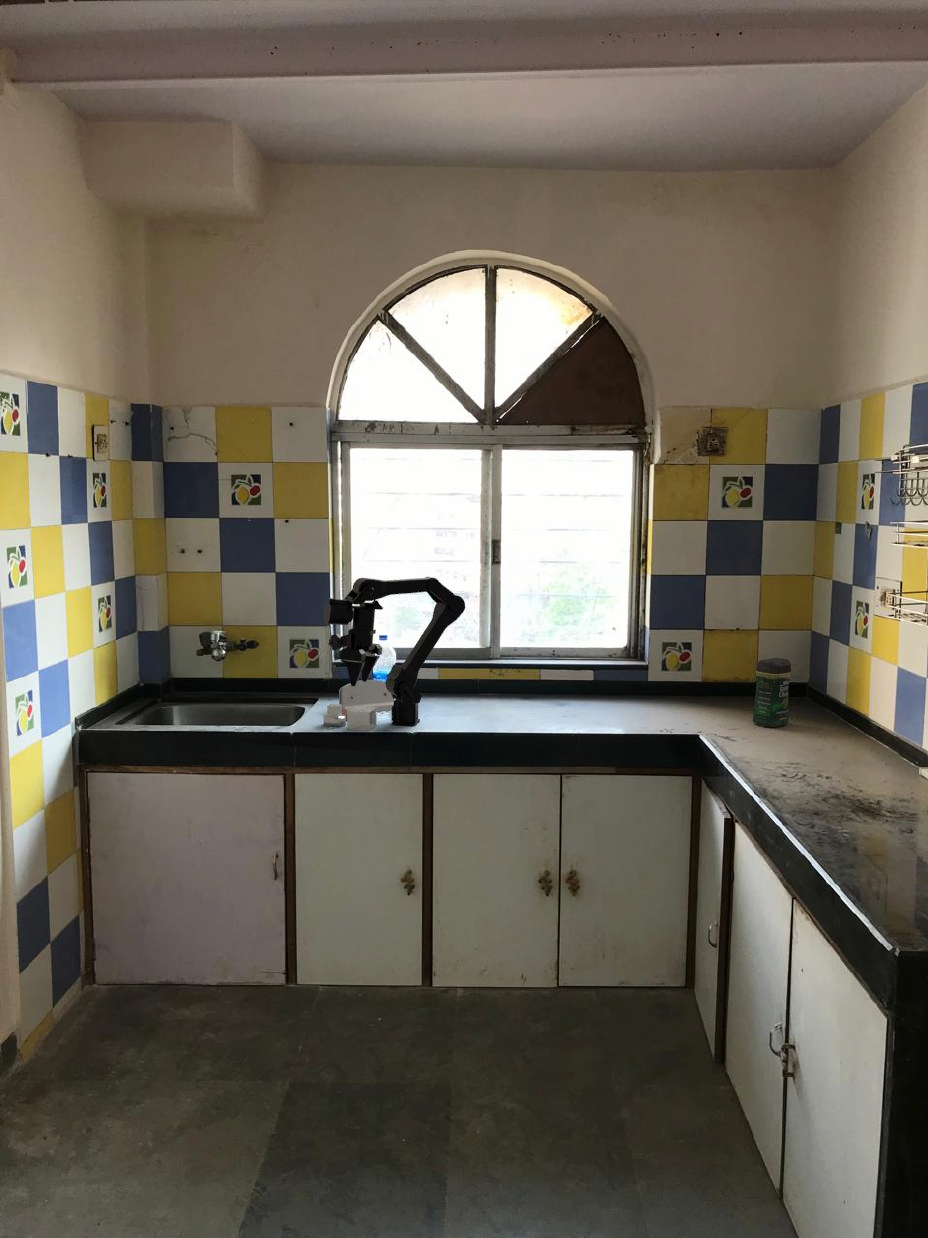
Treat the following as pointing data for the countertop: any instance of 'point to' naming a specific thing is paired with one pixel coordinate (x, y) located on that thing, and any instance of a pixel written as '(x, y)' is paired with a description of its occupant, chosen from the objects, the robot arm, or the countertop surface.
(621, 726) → the countertop surface
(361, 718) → the grey cube
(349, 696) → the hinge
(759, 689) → the coffee jar
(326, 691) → the countertop surface
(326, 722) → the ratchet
